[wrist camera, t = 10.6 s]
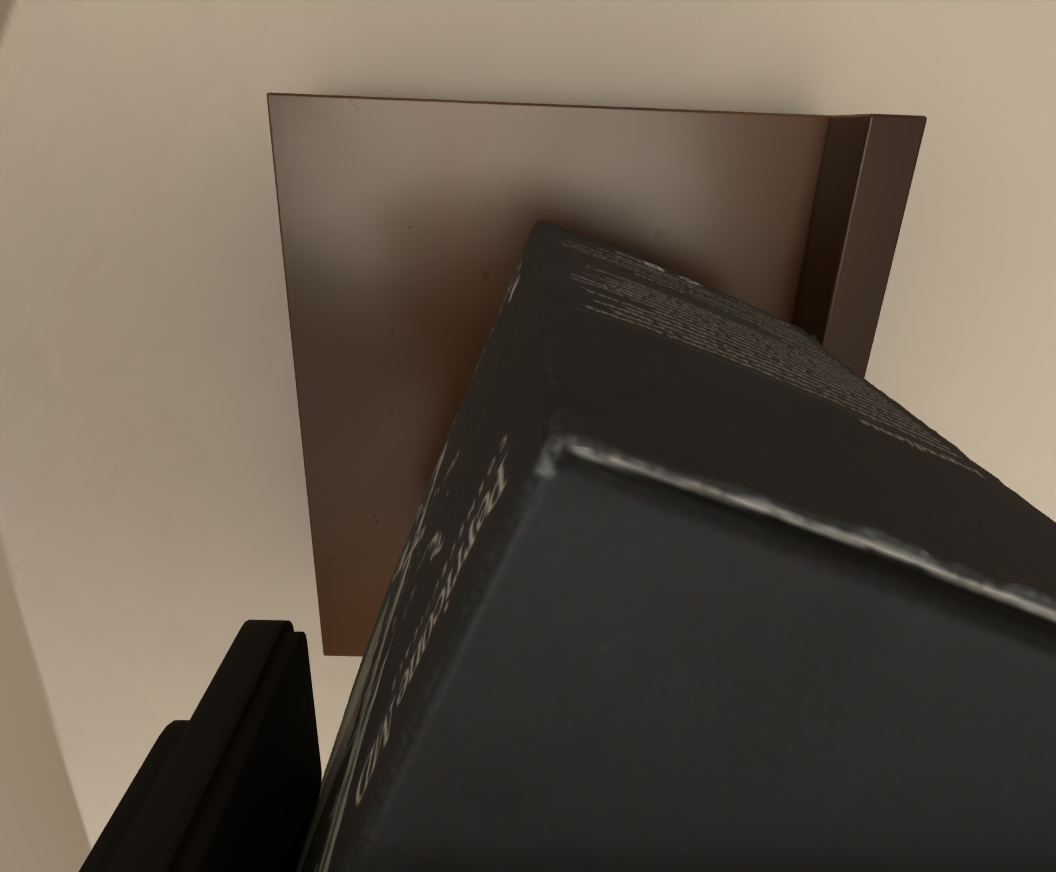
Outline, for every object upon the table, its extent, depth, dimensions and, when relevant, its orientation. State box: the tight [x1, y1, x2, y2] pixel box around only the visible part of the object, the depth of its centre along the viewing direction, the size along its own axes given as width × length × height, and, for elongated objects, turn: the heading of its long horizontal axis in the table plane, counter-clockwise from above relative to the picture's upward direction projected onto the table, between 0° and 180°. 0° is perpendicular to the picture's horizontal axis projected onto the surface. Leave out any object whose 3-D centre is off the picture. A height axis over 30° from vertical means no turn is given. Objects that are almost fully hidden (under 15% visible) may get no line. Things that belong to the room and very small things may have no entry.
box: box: [296, 220, 1056, 872], centre depth 11 cm, size 11×7×10 cm, turn 158°
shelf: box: [267, 93, 927, 656], centre depth 20 cm, size 14×16×6 cm
